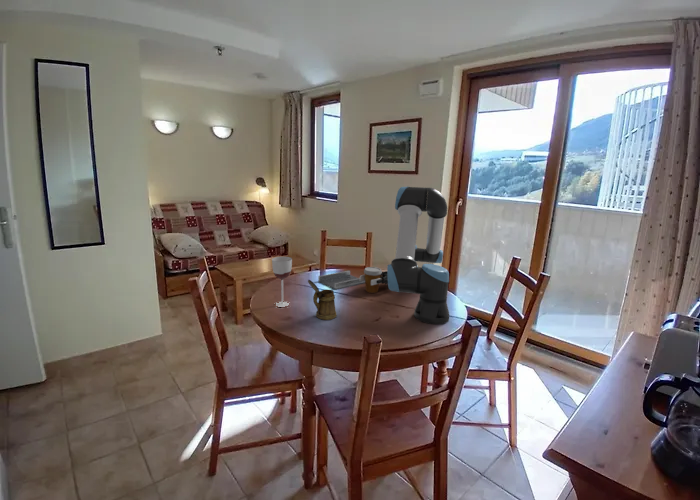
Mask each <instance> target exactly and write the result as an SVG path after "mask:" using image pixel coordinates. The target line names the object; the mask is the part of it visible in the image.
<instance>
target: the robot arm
mask: <svg viewBox="0 0 700 500" xmlns="http://www.w3.org/2000/svg"><path fill="white" fill-rule="evenodd" d="M394 205H395V206H394V208H395V211H397V214H398V215H399V221H398V222H399V223H398V231H397V241H396V249H395V257H394V258H393V259H392V260H391V263H390V264H388V265H387V267H386V268H387V270H386V271H382V273H381V276H380V278H378V279H373V280H371V285H376V284H379V285H380V284H385V285H387V287H388V290H389V291H391V292H398V293H406V294H407V293H408V294H415V295H416V294H417V295H419V300H418V301H417V304H416V307H415V309H414V314H413V316H414V317H415V318H416V320H418V321H419V322H422V323H425V324H431V325H440V324H441V325H443V324H445V323H447V322H449V321H450V311H449V307H448V304H447V299H448V288H449V282H450V273H449V270H448V269H447V268H446V267H443V266H441V265H438V264H442V263H443V258H444V251H443V250H442V249H441V243H442V238H443V230H444V222H445V218H446V216H447V214H448V204H447V201H446V199H445V197H444V195H443V194H442V193H441V192H440V191H439V190H437V189H435V188H434V187H424V186H423V187H418V186H417V187H416V186H409V185H407V186H400V187H399V188H398V191H397V193H396V198H395V204H394ZM423 212H427V213H426V214H427V216H428V224H427V235H426V244H425V245H426V247H425V248H419V247H418V245H417V234H418V225H419V217H420V216H421V215H422V214H423ZM418 263H423V264H422V265H421V267H419V266H418ZM359 278H360V281H363V280H365V274H362V275H359Z"/></svg>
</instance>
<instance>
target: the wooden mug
mask: <svg viewBox="0 0 700 500" xmlns="http://www.w3.org/2000/svg"><path fill="white" fill-rule="evenodd" d="M307 282H308V285H310V287H311V288H312V289H313V290H314V294H313V296H312V301H313V303H314V306H315V307H316V309H317V310H316V313H315V317H316V318H318V319H320V320H323V321H331V320H333V319H335V318H337V316H338V315H337V310H336V303H335V300H336V299H335V298H336V297H335V294H334V293H335V292H334V291H335V290H332V289H321V290H320V289H319V287H318V286H317V285H316V284H315V283H314V282H313V281H312V280H310V279H307Z"/></svg>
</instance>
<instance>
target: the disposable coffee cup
mask: <svg viewBox="0 0 700 500" xmlns="http://www.w3.org/2000/svg"><path fill="white" fill-rule="evenodd" d="M382 272H383V271H382V269H381V268H380V267H375V266H368V267H365V268H364V270H363V273H364V275H365V283H364V284H365V292H367V293H369V294H375V293H378V292H379V286H380V284H376V285H371V280H373V279H378V278H380V276H381V273H382Z"/></svg>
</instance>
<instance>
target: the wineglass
mask: <svg viewBox="0 0 700 500" xmlns="http://www.w3.org/2000/svg"><path fill="white" fill-rule="evenodd" d="M271 263H272V264H271V265H272V266H271V267H272V271H273V274H274V276H275V277H276V278H277V279H279V280H281V281H280V282H281V283H280V284H281V285H280V287H281V292H280V293H281V295H280V296H281V301H278V302H279V303H277V302H275V303H276V306H278V307H285V306H288V305H289V303H290V302H289V303H287V302H288V301H284V280H285V279H287V278H288V277H289V276H290V274H291V272H292V267H293V266H292V265H293V258H292V257H289V256H275V257H273V258H271ZM283 301H284V302H283Z"/></svg>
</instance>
